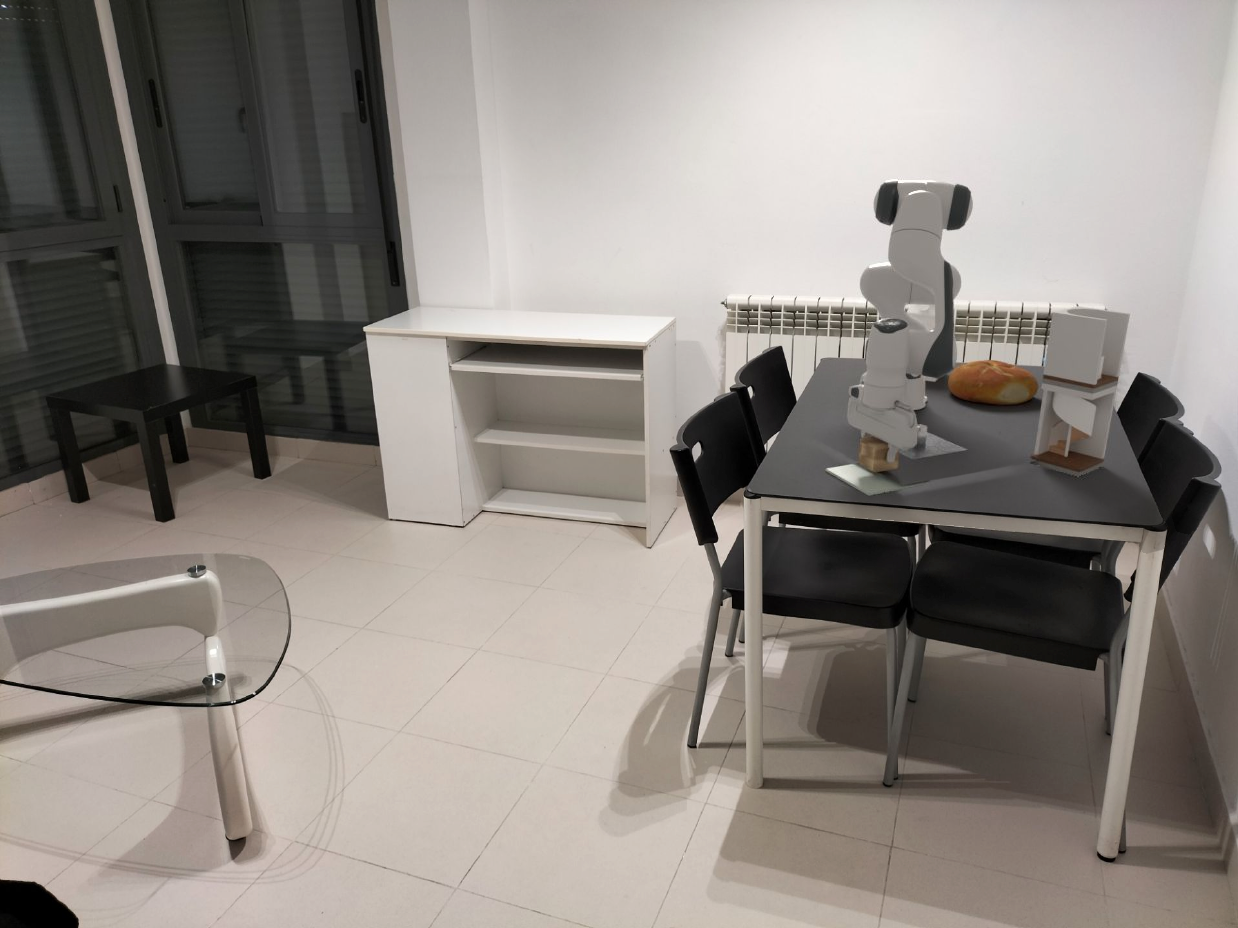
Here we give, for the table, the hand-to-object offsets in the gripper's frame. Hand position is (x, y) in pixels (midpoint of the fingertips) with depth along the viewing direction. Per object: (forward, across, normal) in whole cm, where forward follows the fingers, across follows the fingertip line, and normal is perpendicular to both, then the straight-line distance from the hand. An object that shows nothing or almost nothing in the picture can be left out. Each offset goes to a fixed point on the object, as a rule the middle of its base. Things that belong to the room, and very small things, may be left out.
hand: (878, 455), depth 203 cm
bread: (+6, +39, -68) cm, 79 cm away
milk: (+5, +67, -66) cm, 94 cm away
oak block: (+2, 0, 0) cm, 2 cm away
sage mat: (+5, 0, 0) cm, 5 cm away
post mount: (+5, +11, -20) cm, 23 cm away
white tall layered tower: (+5, -11, -44) cm, 46 cm away
